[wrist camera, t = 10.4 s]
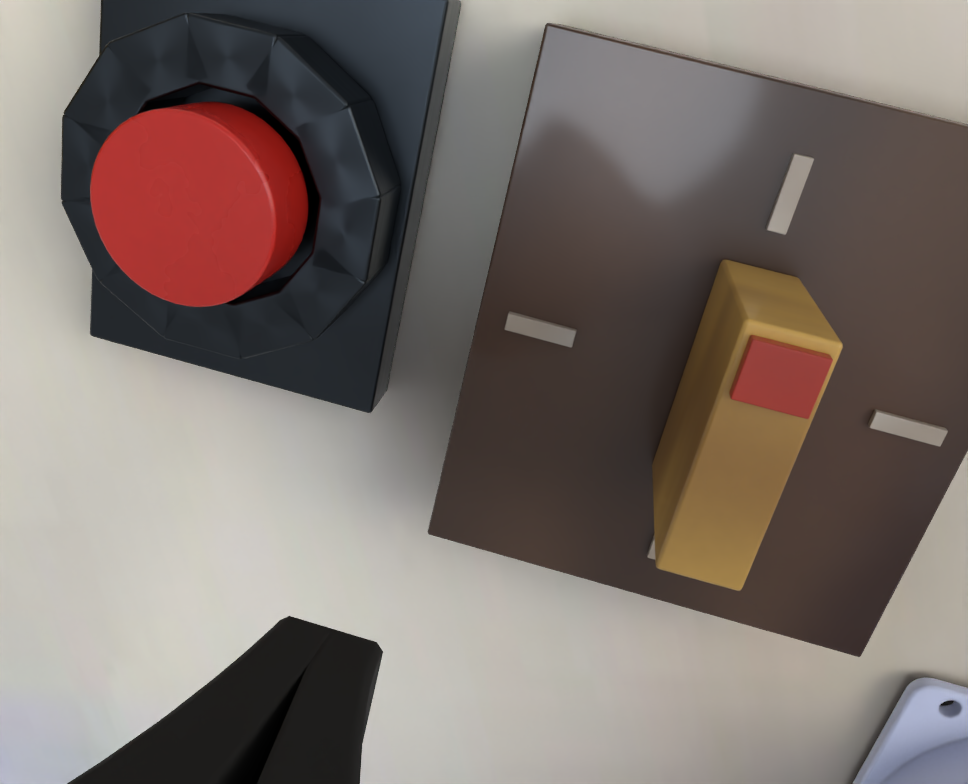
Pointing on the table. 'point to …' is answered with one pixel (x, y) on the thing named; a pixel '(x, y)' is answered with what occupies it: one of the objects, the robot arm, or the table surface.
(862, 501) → the plate
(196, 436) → the table surface
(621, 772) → the table surface
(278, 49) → the box
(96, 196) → the bell button
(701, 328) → the thumb turn
